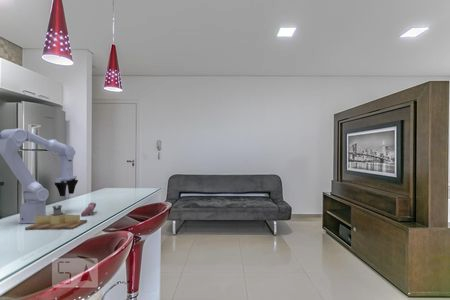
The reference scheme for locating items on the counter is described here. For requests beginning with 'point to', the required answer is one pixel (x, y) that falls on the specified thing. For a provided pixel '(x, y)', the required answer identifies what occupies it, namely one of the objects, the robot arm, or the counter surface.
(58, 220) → the hinge
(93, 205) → the mauve lumpy piece
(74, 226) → the hinge board
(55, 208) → the hinge pin
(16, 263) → the counter surface
